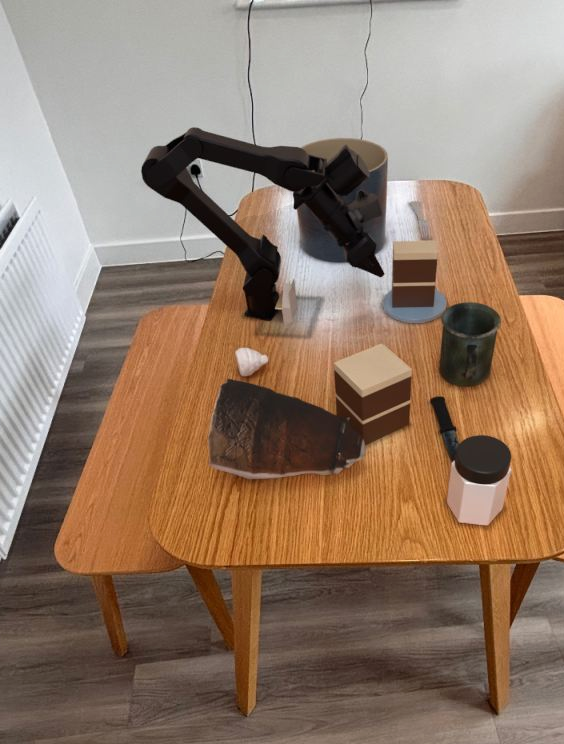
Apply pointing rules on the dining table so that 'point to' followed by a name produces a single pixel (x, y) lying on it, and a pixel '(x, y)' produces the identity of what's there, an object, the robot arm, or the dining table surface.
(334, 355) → the dining table surface
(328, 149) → the planter
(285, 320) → the napkin holder
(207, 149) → the robot arm
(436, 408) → the knife
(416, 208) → the fork
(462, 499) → the jar
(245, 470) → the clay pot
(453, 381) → the mug
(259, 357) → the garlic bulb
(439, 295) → the plate
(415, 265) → the cake slice
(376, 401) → the cake
